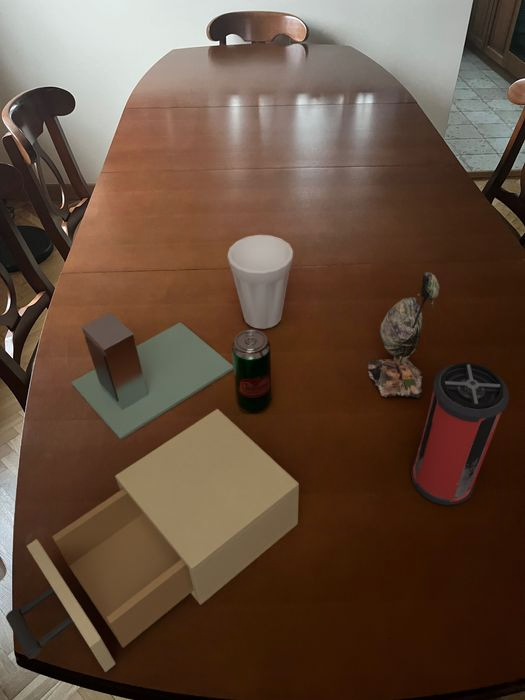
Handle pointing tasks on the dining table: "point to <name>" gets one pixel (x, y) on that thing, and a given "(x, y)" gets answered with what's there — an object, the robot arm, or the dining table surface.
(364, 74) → the dining table surface
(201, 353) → the mat
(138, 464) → the cabinet
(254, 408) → the soda can
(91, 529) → the drawer
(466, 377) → the speaker
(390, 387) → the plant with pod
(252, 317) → the cup
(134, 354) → the brushed metal box
